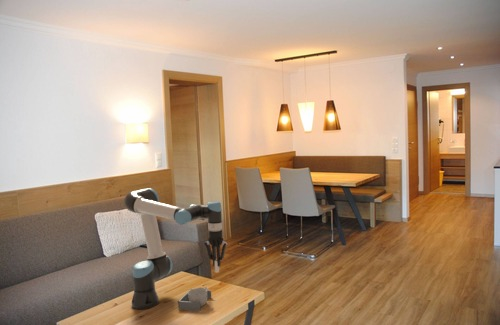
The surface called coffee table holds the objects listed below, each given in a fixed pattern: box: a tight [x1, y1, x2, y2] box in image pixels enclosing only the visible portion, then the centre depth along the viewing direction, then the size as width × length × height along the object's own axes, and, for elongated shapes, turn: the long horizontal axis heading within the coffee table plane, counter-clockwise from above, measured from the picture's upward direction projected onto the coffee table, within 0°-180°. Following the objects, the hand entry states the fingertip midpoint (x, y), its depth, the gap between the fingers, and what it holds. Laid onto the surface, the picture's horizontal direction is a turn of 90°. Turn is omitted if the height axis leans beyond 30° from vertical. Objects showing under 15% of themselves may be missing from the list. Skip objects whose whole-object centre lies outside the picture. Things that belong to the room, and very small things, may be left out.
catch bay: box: [177, 288, 212, 312], centre depth 230 cm, size 13×18×4 cm
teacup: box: [187, 286, 208, 307], centre depth 229 cm, size 14×11×8 cm
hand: (217, 271), depth 225 cm, fingers closed
